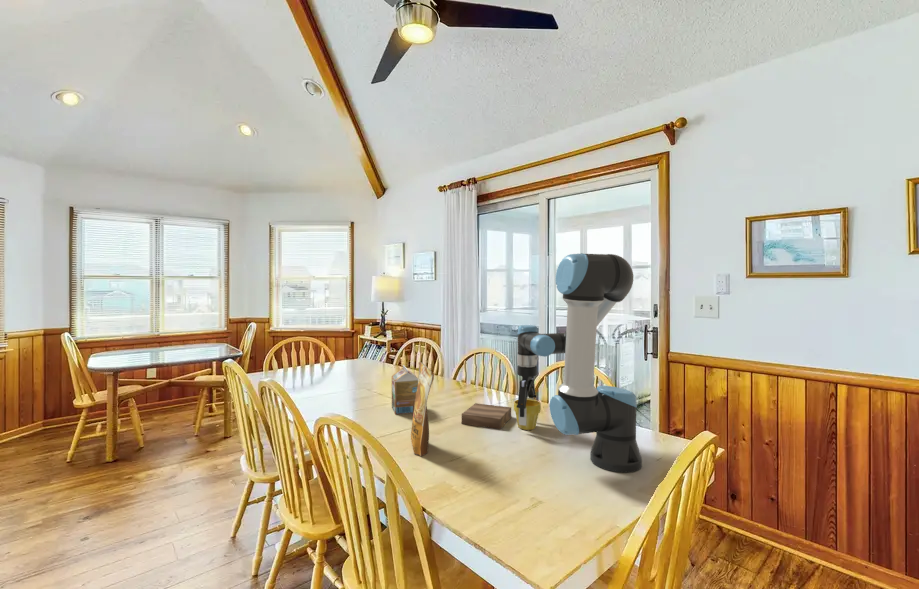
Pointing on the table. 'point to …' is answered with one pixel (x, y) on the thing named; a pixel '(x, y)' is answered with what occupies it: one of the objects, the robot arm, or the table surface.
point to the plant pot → (529, 414)
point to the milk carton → (404, 391)
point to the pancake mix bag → (421, 412)
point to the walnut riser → (486, 416)
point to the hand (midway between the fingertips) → (526, 419)
